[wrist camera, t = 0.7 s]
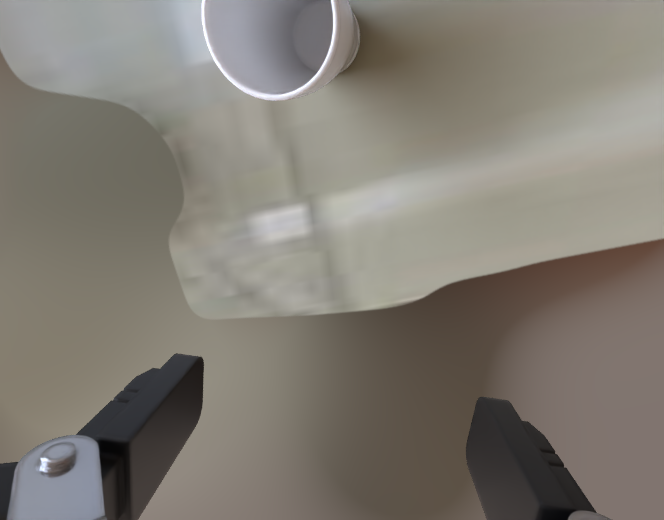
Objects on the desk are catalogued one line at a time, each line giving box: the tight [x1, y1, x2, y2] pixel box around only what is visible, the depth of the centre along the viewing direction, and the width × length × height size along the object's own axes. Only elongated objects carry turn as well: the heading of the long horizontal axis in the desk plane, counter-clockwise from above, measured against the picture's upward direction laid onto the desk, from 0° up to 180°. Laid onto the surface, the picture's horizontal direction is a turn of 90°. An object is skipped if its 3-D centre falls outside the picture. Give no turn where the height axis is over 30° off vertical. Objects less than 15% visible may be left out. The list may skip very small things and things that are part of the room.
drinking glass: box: [202, 0, 360, 101], centre depth 24 cm, size 7×7×15 cm
